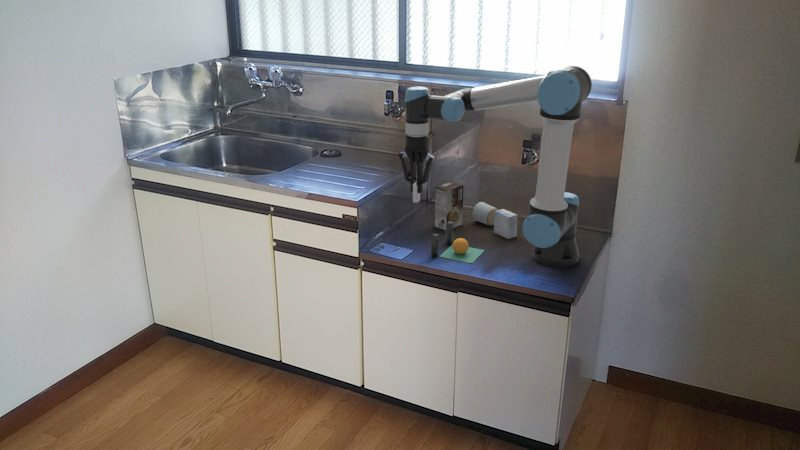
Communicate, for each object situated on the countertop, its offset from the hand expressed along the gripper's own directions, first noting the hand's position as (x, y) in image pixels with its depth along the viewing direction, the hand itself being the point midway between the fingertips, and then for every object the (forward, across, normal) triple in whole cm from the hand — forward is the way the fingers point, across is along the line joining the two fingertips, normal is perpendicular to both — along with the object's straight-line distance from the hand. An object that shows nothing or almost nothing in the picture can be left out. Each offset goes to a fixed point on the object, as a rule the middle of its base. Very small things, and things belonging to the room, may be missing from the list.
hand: (416, 201), depth 235 cm
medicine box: (+17, -25, -23) cm, 38 cm away
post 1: (+16, -10, +6) cm, 20 cm away
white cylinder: (+17, -15, -32) cm, 39 cm away
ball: (+14, -17, 0) cm, 22 cm away
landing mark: (+16, -18, 0) cm, 24 cm away
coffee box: (+17, -3, -22) cm, 28 cm away
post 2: (+16, -10, -6) cm, 20 cm away
